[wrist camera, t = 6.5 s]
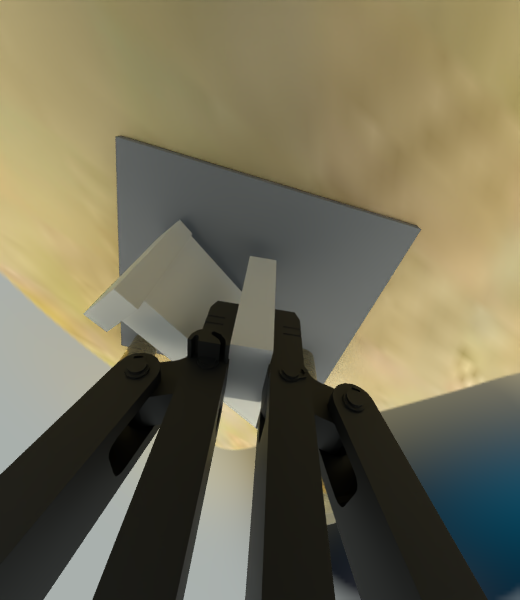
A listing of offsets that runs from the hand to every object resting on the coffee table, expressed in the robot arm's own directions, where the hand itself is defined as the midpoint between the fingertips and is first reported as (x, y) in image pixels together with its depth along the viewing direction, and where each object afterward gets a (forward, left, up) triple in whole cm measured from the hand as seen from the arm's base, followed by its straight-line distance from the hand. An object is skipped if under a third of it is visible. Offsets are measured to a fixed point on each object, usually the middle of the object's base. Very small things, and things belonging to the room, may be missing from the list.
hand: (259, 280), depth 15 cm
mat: (+3, 0, -3) cm, 5 cm away
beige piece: (+3, -1, -2) cm, 4 cm away
